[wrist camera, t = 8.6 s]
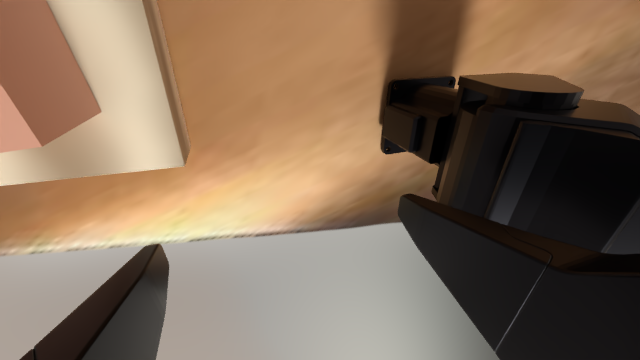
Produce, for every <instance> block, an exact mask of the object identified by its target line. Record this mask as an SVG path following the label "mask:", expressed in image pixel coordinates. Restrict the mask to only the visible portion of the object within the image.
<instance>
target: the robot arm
mask: <svg viewBox="0 0 640 360" xmlns="http://www.w3.org/2000/svg"><path fill="white" fill-rule="evenodd" d="M449 81H450V83H449ZM455 82H456V80H455V78H454V77H452V76H442V77H426V78H410V79H394V80H392V81H391V82H390V83H389V86H388V94H387V103H386V107H385V113H384V122H383V131H382V135H383V138H382V147H381V150H382V152H383V153H385V154H393V153H400V152H406V151H408V152H410V153H413V154H415V155H416V156H418V157H420V158H421V159H423V160H425V161H426V162H428V163H430V164H435V165H437V166H438V167H439V169H438V173H437V177H436V181H435V185H434V186H433V188H432V194H433V195H434V197H435V198H436V200H437V202H435V201H432V200H429V199H426V198H423V197H420V196H417V195H414V194H405V195H402V196H401V197H400V201H399V206H398V216H399V218H400V220H401V221H402V223H403V225H404V226H405V228H406V230H407V231H408V233H409V235H410V236H411V238H412V240H413V241H414V243H415V245H416V246H417V248H418V249H419V250H420V252H421V253H422V255H423V256H424V257H425V259H426V260H427V261H428V263H429V264H430V265H431V267H432V268H433V269H434V271H435V272H436V273H437V275H438V276H439V277H440V279H441V280H442V282H443V283H444V284H445V286H446V287H447V288H448V290H449V291H450V292H451V294H452V295H453V296H454V298H455V299H456V301H457V302H458V303H459V305H460V306H461V307H462V309H463V310H464V311H465V313H466V314H467V315H468V317H469V318H470V319H471V321H472V322H473V323H474V325H475V326H476V328H477V329H478V330H479V332H480V333H481V334H482V335H483V337H484V338H485V340H486V341H487V342H488V344H489V345H490V346H491V348H492V349H493V351H494V352H495V353H496V355H497V356H498V358H499V359H500V360H640V115H639V114H637V113H636V112H634V111H633V110H631V109H630V108H628V107H626V106H624V105H622V104H618V103H610V102H602V101H594V100H585V99H580V98H581V96H582V94H583V92H584V90H583V89H582V88H580V87H577V86H575V85H573V84H570V83H568V82H566V81H564V80H561V79H559V78H557V77H554V76H550V75H537V74H523V73H501V74H483V75H465V76H460V77H459V81H458V85H459V88H458V89H454V86H455ZM448 83H449V84H448ZM395 84H396V88H395V89H394V85H395ZM387 147H388V149H387V150H386V148H387ZM168 276H169V263H168V260H167V257H166V255H165V253H164V250H163V248H162V246H161V245H160V244H153V245H148V246H145V247H144V248H142V249H141V250H140V251H139V252H138V253H137V254H136V255H135V256H134V257H133V258H132V259H130V260H129V261H128V262H127V263H126V264H125V265H124V266H123V267H122V268H121V269H119V270H118V271H117V272H116V273H115V274H114V275H113V276H112V277H111V278H109V280H107V281H106V282H105V283H104V284H103V285H102V286H101V287H100V288H98V289H97V290H96V291H95V292H94V293H93V294H92V295H91V296H90V297H88V298H87V299H86V300H85V301H84V302H83V303H82V304H81V305H80V306H78V307H77V308H76V309H75V310H74V311H73V312H72V313H71V314H70V315H69V316H67V318H65V319H64V320H63V321H62V322H61V323H60V324H59V325H58V326H56V327H55V328H54V329H53V330H52V331H51V332H50V333H49V334H48V335H46V336H45V337H44V338H43V339H42V340H41V341H40V342H39V343H38V344H36V345H35V347H34V349H31V350H30V351H29V352H28V353H26V354H25V355H24V356H23V357H22V358H21V359H20V360H156V356H157V351H158V346H159V341H160V337H161V332H162V327H163V322H164V317H165V311H166V300H167V288H168Z"/></svg>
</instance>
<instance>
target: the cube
mask: <svg viewBox="0 0 640 360" xmlns="http://www.w3.org/2000/svg"><path fill="white" fill-rule="evenodd" d="M99 113H101V110H100V108H99V106H98V104H97V102H96V100H95V98H94V96H93V94H92V92H91V90H90V88H89V86H88V84H87V82H86V80H85V78H84V76H83V74H82V72H81V70H80V68H79V66H78V64H77V62H76V60H75V58H74V56H73V54H72V52H71V50H70V48H69V46H68V44H67V42H66V40H65V38H64V36H63V34H62V32H61V30H60V28H59V26H58V24H57V22H56V20H55V18H54V16H53V14H52V12H51V10H50V8H49V6H48V4H47V2H46V0H0V153H3V152H10V151H16V150H23V149H30V148H37V147H43V146H44V145H46V144H48V143H49V142H51V141H53V140H55V139H56V138H58V137H60V136H61V135H63V134H65V133H67V132H68V131H70V130H72V129H73V128H75V127H77V126H79V125H80V124H82V123H84V122H85V121H87V120H89V119H91V118H92V117H94V116H96V115H97V114H99Z"/></svg>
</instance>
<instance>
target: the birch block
mask: <svg viewBox="0 0 640 360" xmlns="http://www.w3.org/2000/svg"><path fill="white" fill-rule="evenodd" d="M46 2H47V4H48V6H49V8H50V10H51V12H52V14H53V16H54V18H55V20H56V22H57V24H58V26H59V28H60V30H61V32H62V34H63V36H64V38H65V40H66V42H67V44H68V46H69V48H70V50H71V52H72V54H73V56H74V58H75V60H76V62H77V64H78V66H79V68H80V70H81V72H82V74H83V76H84V78H85V80H86V82H87V84H88V86H89V88H90V90H91V92H92V94H93V96H94V98H95V100H96V102H97V104H98V106H99V108H100V110H101V113H99V114H97V115H96V116H94V117H92V118H91V119H89V120H87V121H85V122H84V123H82V124H80V125H79V126H77V127H75V128H73V129H72V130H70V131H68V132H67V133H65V134H63V135H61V136H60V137H58V138H56V139H55V140H53V141H51V142H49V143H48V144H46V145H44V146H43V147H37V148H30V149H23V150H16V151H10V152H3V153H0V186H4V185H13V184H23V183H32V182H42V181H51V180H60V179H70V178H79V177H89V176H98V175H108V174H117V173H127V172H136V171H145V170H155V169H164V168H174V167H183V166H185V164H186V161H187V157H188V154H189V151H190V148H191V144H190V140H189V136H188V131H187V127H186V123H185V119H184V114H183V110H182V106H181V102H180V97H179V93H178V89H177V84H176V80H175V76H174V72H173V67H172V63H171V59H170V55H169V50H168V46H167V42H166V38H165V33H164V29H163V25H162V21H161V16H160V12H159V8H158V3H157V0H46Z"/></svg>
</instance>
